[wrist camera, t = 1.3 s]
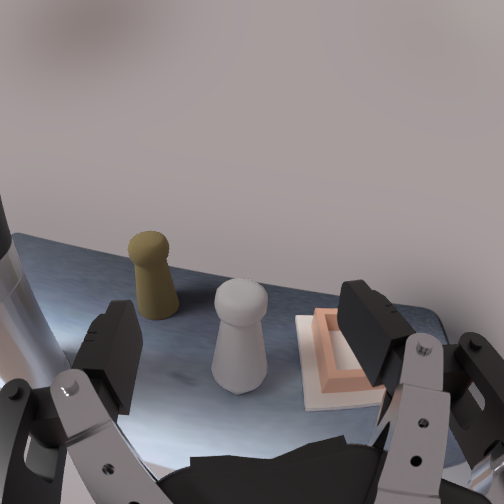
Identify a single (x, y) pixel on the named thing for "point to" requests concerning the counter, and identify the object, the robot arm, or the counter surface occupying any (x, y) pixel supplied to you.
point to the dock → (331, 366)
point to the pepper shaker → (153, 275)
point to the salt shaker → (240, 336)
